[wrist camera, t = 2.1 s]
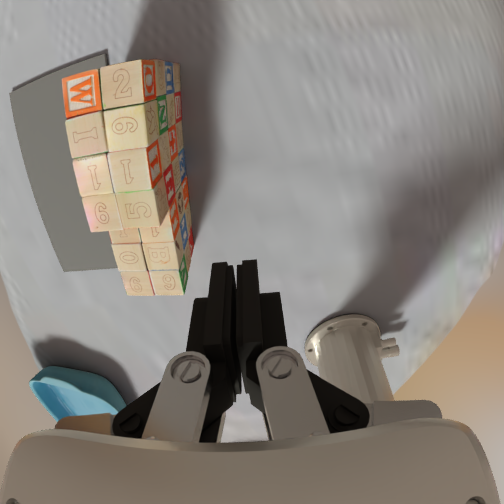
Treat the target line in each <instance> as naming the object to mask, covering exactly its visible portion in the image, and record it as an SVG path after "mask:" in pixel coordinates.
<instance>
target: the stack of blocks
mask: <svg viewBox="0 0 504 504" xmlns="http://www.w3.org/2000/svg"><path fill="white" fill-rule="evenodd" d="M62 89H63V98H64V107H65V114H66V118H67V120H66V121H65V125H66V131H67V136H68V142H69V147H70V152H71V156H72V158H73V159H74V160H73V163H72V164H73V168H74V172H75V176H76V181H77V185H78V189H79V193H80V195H81V197H82V203H83V206H84V210H85V214H86V217H87V221H88V224H89V227H90V231H91V232H102V231H109V235H110V239H111V242H112V244H111V245H112V249H113V253H114V256H115V260H116V263H117V266H118V270H119V271H120V273H121V277H122V280H123V283H124V287H125V290H126V293H127V295H143V296H154V295H184V293H185V289H186V285H187V280H188V271H189V267H190V263H191V257H192V253H193V248H194V242H193V235H192V227H191V224H192V221H191V212H190V203H189V193H188V182H187V175H186V168H185V157H184V148H183V135H182V122H181V120H182V110H181V92H180V90H181V87H180V65H179V63H171V62H166V61H164V60H158V59H151V60H144V59H139V60H134V61H129V62H123V63H118V64H113V65H109V66H104V67H101V68H100V69H93V70H89V71H85V72H81V73H78V74H74V75H71V76H68V77H65V78H62Z"/></svg>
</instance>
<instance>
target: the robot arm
mask: <svg viewBox="0 0 504 504" xmlns="http://www.w3.org/2000/svg"><path fill="white" fill-rule="evenodd" d="M380 337H381V333H380V329H379V327H378V324H377V323H376V322H375V321H374V320H373V319H371V318H370V317H367V316H364V315H357V314H351V315H343V316H339V317H336V318H333V319H331V320H328V321H326V322H325V323H323V324H321V325H320V326H318V327H317V328H316V329H315V330H314V331H313V332H312V333H311V334H310V335H309V337H308V338H307V340H306V342H305V354H306V357H307V359H308V360H309V362H311V363H312V364H313V365H315V366H317V367H318V369H319V374H320V377H319V376H317V375H315V374H314V373H312V372H310V371H309V370H307V369H306V367H305V364H304V361H303V359H302V357H301V355H300V354H299V353H298V352H297V351H296V350H294V349H292V348H289V347H288V346H287V339H286V332H285V325H284V318H283V311H282V304H281V297H280V292H273V293H261V294H260V291H259V280H258V269H257V259H256V260H244V261H242V265H237V289H236V282H235V276H234V269H233V265H229V266H228V264H227V262H219V263H212V270H211V277H210V285H209V294H208V297H206V298H195V300H194V304H193V310H192V316H191V322H190V328H189V335H188V341H187V348H186V352H183V353H180V354H178V355H176V356H174V357H173V358H172V359H171V360H170V361H169V363H168V365H167V367H166V369H165V372H164V375H163V378H162V380H161V382H160V383H158V384H157V385H156V386H154V387H153V388H151V389H150V390H149V391H147V392H146V393H144V394H143V395H142V396H140V397H139V398H137V399H136V400H135V401H133V402H132V403H130V404H129V405H127V406H126V407H125V408H123V409H122V410H120V411H119V412H118V413H117V414H115V415H112V414H111V413H102V414H91V415H80V416H67V417H64V418H62V419H60V420H59V421H58V422H57V424H56V425H55V429H49V430H41V431H37V432H34V433H31V434H28V435H26V436H24V437H23V438H22V439H21V440H20V441H19V442H18V443H17V444H16V446H15V448H14V450H13V452H12V454H11V457H10V459H9V462H8V465H7V468H6V471H5V475H4V479H3V483H2V487H1V491H0V504H500V500H499V495H498V491H497V487H496V484H495V480H494V477H493V474H492V471H491V468H490V465H489V462H488V460H487V457H486V454H485V452H484V450H483V448H482V445H481V443H480V442H479V440H478V439H477V436H476V435H475V434H474V432H473V431H472V430H471V429H470V428H469V427H468V426H467V425H465V424H463V423H461V422H458V421H454V420H450V419H442V414H441V411H440V408H439V407H438V406H437V405H436V404H435V403H433V402H432V401H427V400H410V401H395V400H394V397H393V394H392V391H391V388H390V385H389V382H388V379H387V376H386V373H385V371H384V368H383V365H382V362H381V360H382V358H386V357H393V356H398V355H399V346H398V345H396V339H395V338H389V339H385V340H382V339H380ZM241 372H242V377H243V382H244V387H245V392H246V394H247V393H249V395H250V400H251V404H252V405H253V406H255V407H256V408H257V409H259V410H260V411H261V412H262V415H263V419H264V423H265V428H266V432H267V436H268V440H269V441H258V442H235V443H220V442H221V437H222V432H223V427H224V422H225V417H226V410H228V409H229V408H230V407H231V406H232V405H233V402H236V394H241Z"/></svg>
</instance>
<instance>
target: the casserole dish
mask: <svg viewBox="0 0 504 504" xmlns="http://www.w3.org/2000/svg"><path fill="white" fill-rule="evenodd" d="M29 385H30V388H31V390H32V391H33V393H34V394H35V396H36V397H37V398H38V400H39V401H40V402H41V404H42V405H43V406H44V407H45V408H46V410H47V411H48V412H49V413H50V414H51V415H52V416H53V418H54V419H55V420H56V421H57V422H58V421H59V420H60V419H62V418H64V417H67V416H80V415H91V414H102V413H111V414H112V415H115V414H117V413H118V412H119V411H120V410H122V409H123V408H125V407H126V404H125V402H124V400H123V399H122V397H121V395H120V394H119V392H118V391H117V390H116V388H115V387H114V386H113V385H112V384H111V383H110V382H109V381H108V380H107V379H106V378H104V377H102V376H100V375H97V374H94V373H90V372H85V371H81V370H74V369H70V368H65V367H58V366H49V367H46V368H44V369H43V370H41V371H40V372H39V373H38V374H37V375H36V376H35V377H34V378H32V379H31V380H30V382H29Z"/></svg>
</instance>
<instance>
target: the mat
mask: <svg viewBox="0 0 504 504" xmlns="http://www.w3.org/2000/svg"><path fill="white" fill-rule="evenodd" d="M104 66H108V64H107V56H106V54H102V55H99V56H96V57H93V58H90V59H87V60H84V61H82V62H79V63H76V64H73V65H71V66H68V67H66V68H63V69H61V70H58V71H56V72H53V73H51V74H49V75H46V76H44V77H42V78H40V79H38V80H35V81H33V82H31V83H29V84H27V85H25V86H23V87H21V88H19V89H17V90H15V91H13V92H11V93H9V94H10V100H11V106H12V112H13V117H14V122H15V127H16V131H17V136H18V140H19V144H20V148H21V152H22V156H23V160H24V164H25V167H26V171H27V174H28V178H29V181H30V184H31V187H32V191H33V194H34V197H35V200H36V203H37V206H38V209H39V211H40V214H41V217H42V220H43V222H44V225H45V228H46V230H47V233H48V235H49V238H50V241H51V243H52V245H53V248H54V250H55V253H56V255H57V257H58V260H59V262H60V264H61V266H62V269H63V271H64V272H69V271H83V270H96V269H110V268H118V266H117V263H116V260H115V256H114V253H113V249H112V245H111V244H112V242H111V239H110V235H109V231H102V232H91V231H90V227H89V224H88V221H87V217H86V214H85V210H84V206H83V203H82V197H81V195H80V193H79V189H78V185H77V181H76V176H75V172H74V168H73V164H72V163H73V160H74V159H73V158H72V156H71V152H70V147H69V142H68V136H67V131H66V125H65V121H66V120H67V118H66V114H65V107H64V98H63V89H62V78H65V77H68V76H71V75H74V74H78V73H81V72H85V71H89V70H93V69H100V68H101V67H104Z"/></svg>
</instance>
